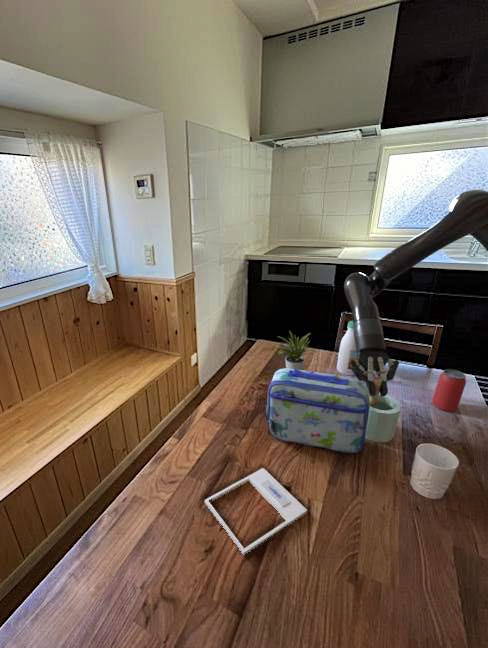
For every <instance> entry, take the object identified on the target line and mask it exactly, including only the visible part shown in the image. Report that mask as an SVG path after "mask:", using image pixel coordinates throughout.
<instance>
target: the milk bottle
mask: <svg viewBox="0 0 488 648" xmlns="http://www.w3.org/2000/svg"><path fill="white" fill-rule="evenodd" d="M356 357H357V351H356V344H355V338H354V324H353V320H349V321H348V322H347V330H346V331H345V334H344V335H343V337H342V338H341V340H340V343H339V349H338V357H337V363H336V370H337V371H338V372H339V373H341V374H342V375H344V376H345V375H346V376H355V374H354V373H353V371H352V370H351V368H350V367H349V366H348V363H349V362H350V361H351V360H355V359H356ZM358 364H359V363H358ZM360 367H361V365H360V364H359V368H360Z"/></svg>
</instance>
